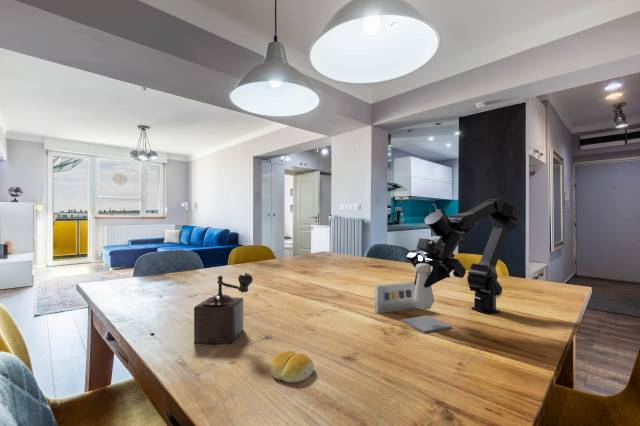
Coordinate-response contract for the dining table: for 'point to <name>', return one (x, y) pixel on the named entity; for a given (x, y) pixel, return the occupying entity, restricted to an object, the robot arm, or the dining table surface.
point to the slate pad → (426, 324)
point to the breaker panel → (394, 297)
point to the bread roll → (291, 367)
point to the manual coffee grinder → (221, 315)
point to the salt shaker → (423, 288)
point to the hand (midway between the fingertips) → (420, 285)
